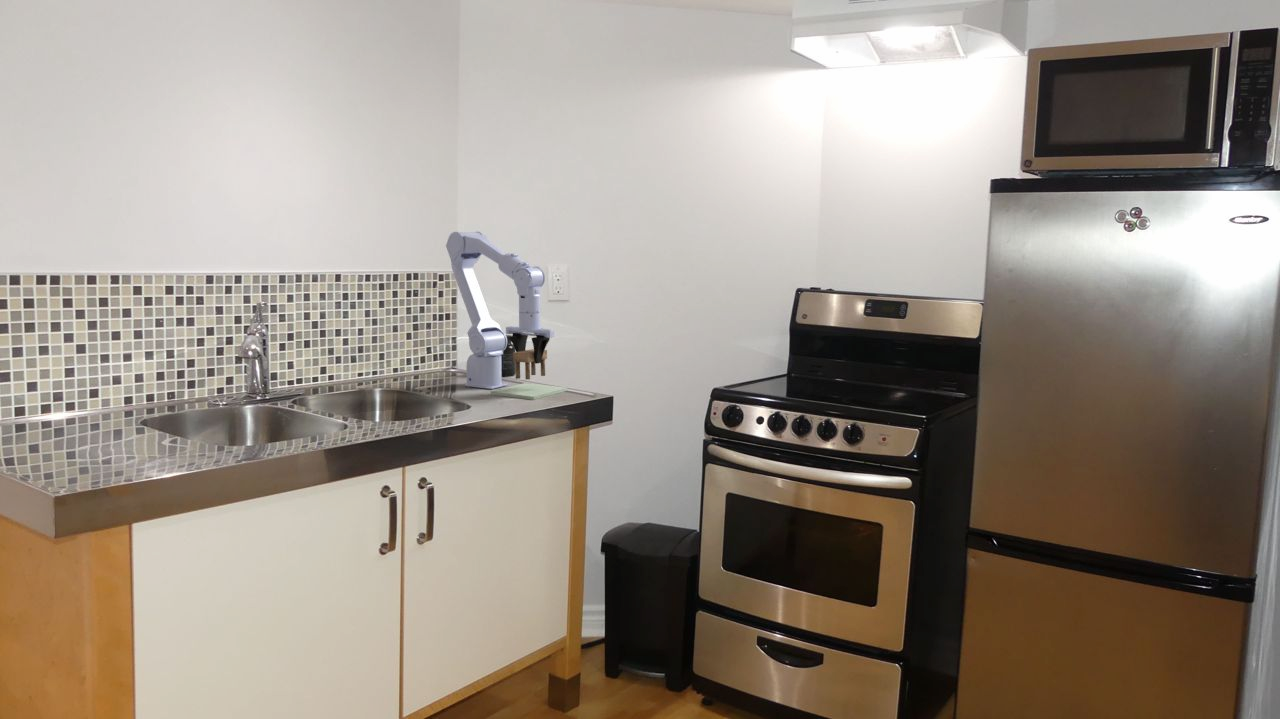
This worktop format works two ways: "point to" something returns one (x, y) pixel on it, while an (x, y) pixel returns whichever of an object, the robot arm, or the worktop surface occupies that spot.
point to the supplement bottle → (508, 359)
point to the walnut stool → (528, 362)
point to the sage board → (529, 391)
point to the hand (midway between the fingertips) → (529, 362)
